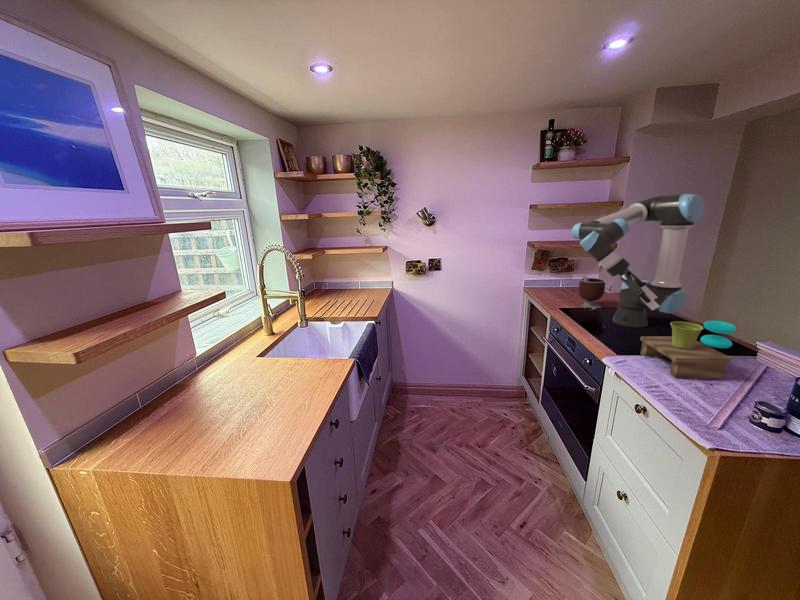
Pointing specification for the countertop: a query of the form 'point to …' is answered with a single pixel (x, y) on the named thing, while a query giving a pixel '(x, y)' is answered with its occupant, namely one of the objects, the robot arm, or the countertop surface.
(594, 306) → the mate gourd
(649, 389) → the countertop surface
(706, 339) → the donuts
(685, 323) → the plant pot
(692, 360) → the walnut shelf stand
